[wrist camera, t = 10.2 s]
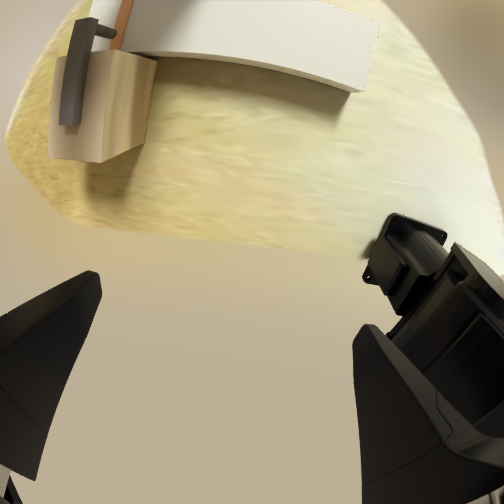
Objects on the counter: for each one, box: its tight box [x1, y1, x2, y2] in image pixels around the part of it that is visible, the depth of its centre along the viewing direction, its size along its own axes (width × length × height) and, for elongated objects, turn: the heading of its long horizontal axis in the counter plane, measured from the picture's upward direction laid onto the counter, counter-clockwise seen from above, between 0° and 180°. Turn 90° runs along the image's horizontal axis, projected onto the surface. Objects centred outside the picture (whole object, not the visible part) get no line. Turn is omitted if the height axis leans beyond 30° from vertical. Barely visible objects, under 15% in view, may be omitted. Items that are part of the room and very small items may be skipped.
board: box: [88, 0, 380, 93], centre depth 12 cm, size 18×5×3 cm, turn 78°
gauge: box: [49, 17, 158, 163], centre depth 12 cm, size 4×8×7 cm, turn 168°
